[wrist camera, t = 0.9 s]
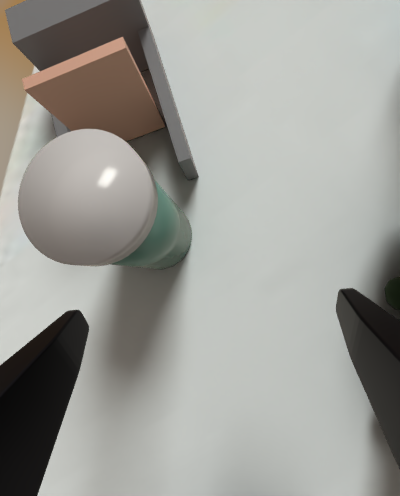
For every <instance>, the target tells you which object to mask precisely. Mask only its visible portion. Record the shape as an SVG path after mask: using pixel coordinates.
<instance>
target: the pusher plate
mask: <svg viewBox="0 0 400 496" xmlns="http://www.w3.org/2000/svg"><path fill="white" fill-rule="evenodd" d="M22 82H23V86H24V90H25V91H26V92H27V93H28V94H30V95H31V96H32V97H33V98H34V99H35V100H36V101H38V102H39V103H40V104H41V105H42V106H43V107H45V108H46V109H47V110H48V111H49V112H50V113H51V114H53V115H54V116H55V117H56V118H57V119H58V120H59V121H61V122H62V123H63V124H64V125H65V126H66V127H68V128H69V129H70V130H71V131H75V130H80V129H98V130H103V131H107V132H109V133H112V134H114V135H116V136H118V137H120V138H121V139H123V140H124V141H125V142H126V141H129V140H132V139H134V138H137V137H140V136H142V135H145V134H148V133H150V132H153V131H155V130H158V129H161V128H163V127H165V124H164V121H163V118H162V116H161V114H160V112H159V110H158V108H157V106H156V104H155V102H154V100H153V98H152V96H151V93H150V91H149V89H148V87H147V85H146V83H145V81H144V79H143V77H142V75H141V73H140V71H139V69H138V67H137V65H136V63H135V61H134V59H133V57H132V55H131V53H130V50H129V48H128V46H127V44H126V42H125V40H124V38H123V37H121V38H118V39H116V40H113V41H111V42H109V43H106V44H104V45H102V46H99V47H97V48H95V49H92V50H90V51H87V52H85V53H83V54H80V55H78V56H76V57H73V58H71V59H68V60H66V61H64V62H61V63H59V64H57V65H54V66H52V67H50V68H47V69H45V70H42V71H40V72H38V73H35V74H33V75H31V76H28V77H26V78H23V79H22Z"/></svg>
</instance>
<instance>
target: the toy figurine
mask: <svg viewBox="0 0 400 496" xmlns="http://www.w3.org/2000/svg"><path fill="white" fill-rule="evenodd" d="M385 294H386V301H387V302H388V303H389V304H390V305H391V306H392V307H393V308H394V309H397V310H400V277H397V278H394V279H391V280H390V281H389V282H388V284H387V285H386V287H385Z"/></svg>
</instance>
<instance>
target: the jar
mask: <svg viewBox="0 0 400 496" xmlns="http://www.w3.org/2000/svg"><path fill="white" fill-rule="evenodd" d="M18 211H19V217H20V221H21V224H22V227H23V229H24V232H25V234H26V236H27V237H28V239H29V240H30V242H31V243H32V244H33V245H34V247H35V248H36V249H38V250H39V251H40V252H41V253H42V254H44V255H45V256H47V257H48V258H50V259H52V260H54V261H57V262H60V263H64V264H70V265H80V266H104V265H109V264H112V265H122V266H132V267H142V268H151V269H164V268H168V267H171V266H173V265H175V264H177V263H178V262H179V261H180V260H181V259H182V258H183V257H184V256H185V255H186V253H187V252H188V250H189V247H190V244H191V240H192V230H191V225H190V223H189V220H188V218H187V217H186V215H185V214H184V213H183V212H182V211H181V209H180V208H179V207H178V206H177V205H176V204H175V203H174V201H173V200H172V199H171V198H170V197H169V196H168V195H167V194H166V192H165V191H164V190H163V189H162V188H161V187H160V186H159V184H158V183H157V182H156V181H155V180H154V178H153V175H152V173H151V171H150V170H149V168H148V167H147V165H146V164H145V163H144V161H143V160H142V159H141V158H140V156H139V155H138V154H137V153H136V152H135V150H134V149H133V148H132V147H131V146H130V145H129V144H128V143H127V142H125V141H124V140H123V139H121V138H120V137H118V136H116V135H114V134H112V133H109V132H107V131H103V130H98V129H80V130H75V131H71V132H68V133H65V134H63V135H61V136H58V137H57V138H55V139H53V140H52V141H50V142H49V143H48V144H46V145H45V146H44V147H43V148H42V149H41V150H40V151H39V152H38V153H37V154H36V155H35V157H34V158H33V159H32V160H31V162H30V164H29V165H28V167H27V169H26V171H25V173H24V175H23V178H22V181H21V184H20V189H19V196H18Z"/></svg>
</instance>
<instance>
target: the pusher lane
mask: <svg viewBox="0 0 400 496" xmlns="http://www.w3.org/2000/svg"><path fill="white" fill-rule="evenodd" d="M5 12H6V16H7V21H8V25H9V29H10V33H11V38H12V42H13V44H14V45H15V46H16V47H17V48H18V49H19V50H20V51H21V52H22V53H23V54H24V55H25V56H26V57H27V58H28V59H29V60H30V61H31V62H32V63H33V64H34V65H35V66H36V67H37V68H38V70H39V71H42V70H45V69H47V68H50V67H52V66H54V65H57V64H59V63H61V62H64V61H66V60H68V59H71V58H73V57H76V56H78V55H80V54H83V53H85V52H87V51H90V50H92V49H95V48H97V47H99V46H102V45H104V44H106V43H109V42H111V41H113V40H116V39H118V38H121V37H123V38H124V40H125V42H126V44H127V46H128V48H129V50H130V53H131V55H132V57H133V59H134V61H135V63H136V65H137V67H138V69H139V71H140V72H142V71H144V70H147V69H150V73H151V76H152V79H153V82H154V86H155V89H156V92H157V95H158V98H159V102H160V105H161V108H162V111H163V114H164V118H165V121H166V124H167V127H168V130H169V134H170V137H171V140H172V143H173V146H174V150H175V153H176V156H177V159H178V162H179V164H180V166H181V168H182V170H183V172H184V174H185V175H186V177H187V179H188V180H190V179H193V178H196V177H199V176H198V173H197V170H196V167H195V164H194V161H193V158H192V155H191V151H190V148H189V145H188V142H187V139H186V136H185V133H184V130H183V127H182V123H181V120H180V117H179V114H178V111H177V108H176V105H175V102H174V98H173V95H172V92H171V89H170V86H169V83H168V80H167V77H166V74H165V70H164V67H163V64H162V61H161V58H160V55H159V52H158V49H157V45H156V42H155V39H154V36H153V33H152V31H151V28H150V25H149V22H148V20H147V17H146V14H145V11H144V8H143V6H142V3H141V0H26V1H24V2H22V3H20V4H17V5H15V6H13V7H11V8H9V9H6V10H5ZM51 115H52V119H53V123H54V128H55V132H56V136H57V137H58V136H61V135H63V134H65V133H68V132H71V130H70V129H69V128H68V127H66V126H65V125H64V124H63V123H62V122H61V121H59V120H58V119H57V118H56V117H55V116H54V115H53V114H51Z"/></svg>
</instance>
